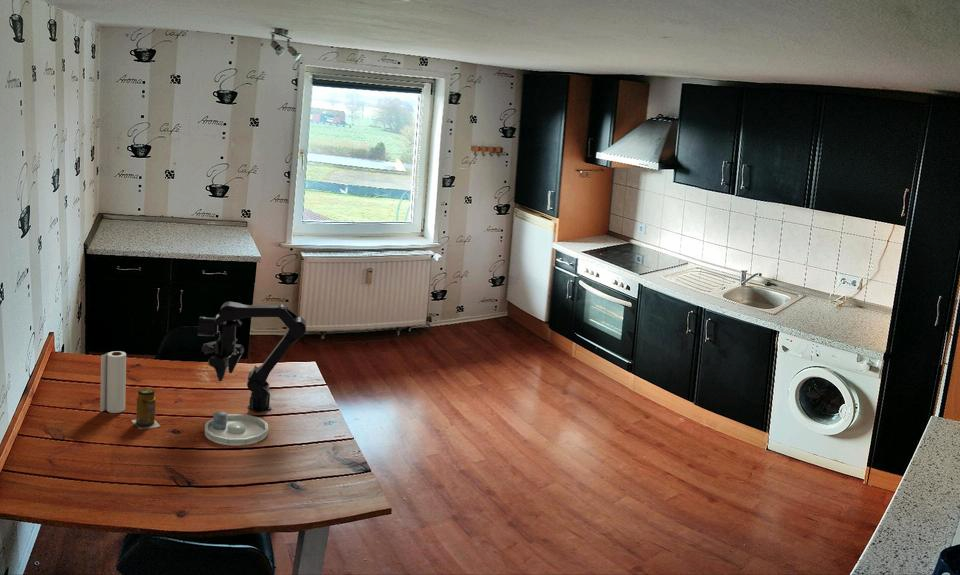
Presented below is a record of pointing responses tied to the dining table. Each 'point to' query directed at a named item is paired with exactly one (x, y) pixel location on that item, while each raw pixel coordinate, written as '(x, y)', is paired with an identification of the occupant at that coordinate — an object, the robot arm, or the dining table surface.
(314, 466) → the dining table surface
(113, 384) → the paper towel roll
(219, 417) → the blue-grey short cylinder
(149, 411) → the condiment
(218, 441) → the tray
